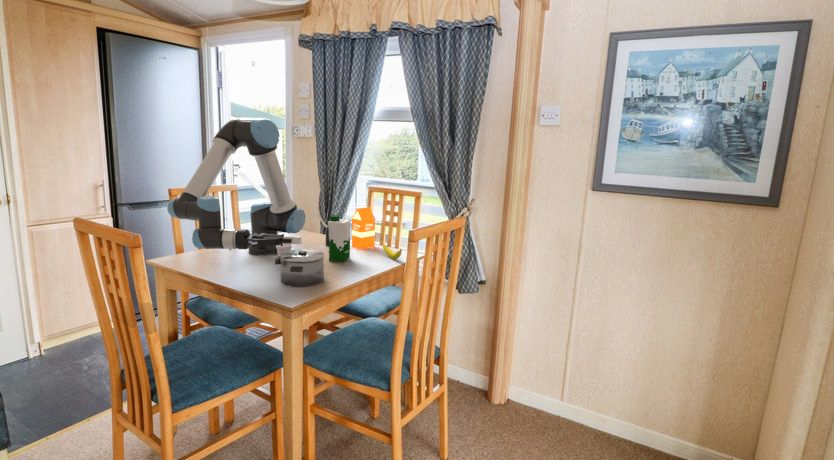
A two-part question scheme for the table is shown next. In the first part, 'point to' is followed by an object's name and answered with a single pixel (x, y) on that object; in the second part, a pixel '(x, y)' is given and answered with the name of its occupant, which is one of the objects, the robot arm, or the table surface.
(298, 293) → the table surface
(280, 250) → the smoothie
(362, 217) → the orange juice
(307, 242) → the table surface
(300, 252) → the lid
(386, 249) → the banana
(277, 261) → the cooker
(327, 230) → the supplement bottle
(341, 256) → the milk carton
